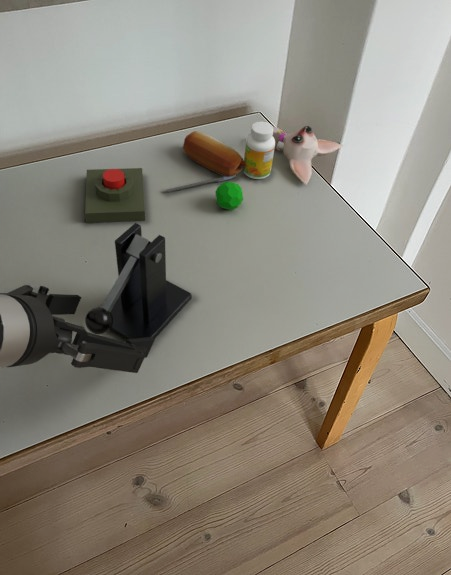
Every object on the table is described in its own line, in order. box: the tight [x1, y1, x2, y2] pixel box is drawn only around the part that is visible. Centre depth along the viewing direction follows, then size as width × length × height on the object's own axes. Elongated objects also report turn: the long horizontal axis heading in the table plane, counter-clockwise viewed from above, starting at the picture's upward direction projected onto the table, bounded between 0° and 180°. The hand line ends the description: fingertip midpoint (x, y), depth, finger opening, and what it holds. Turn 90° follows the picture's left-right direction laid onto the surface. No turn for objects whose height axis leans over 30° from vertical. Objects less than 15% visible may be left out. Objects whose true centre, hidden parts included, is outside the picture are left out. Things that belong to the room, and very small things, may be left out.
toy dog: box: [272, 125, 344, 186], centre depth 112 cm, size 15×8×15 cm
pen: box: [166, 174, 238, 193], centre depth 107 cm, size 1×1×14 cm
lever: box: [84, 234, 152, 335], centre depth 76 cm, size 14×4×4 cm
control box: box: [84, 167, 146, 224], centre depth 101 cm, size 12×10×4 cm
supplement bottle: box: [242, 121, 276, 180], centre depth 107 cm, size 5×5×10 cm
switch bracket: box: [108, 222, 193, 341], centre depth 81 cm, size 12×9×15 cm
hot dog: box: [182, 130, 245, 177], centre depth 110 cm, size 5×13×5 cm
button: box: [103, 168, 125, 189], centre depth 100 cm, size 4×4×2 cm
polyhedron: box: [215, 180, 244, 211], centre depth 102 cm, size 5×5×5 cm
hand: (111, 325), depth 80 cm, fingers open, 12 cm apart
